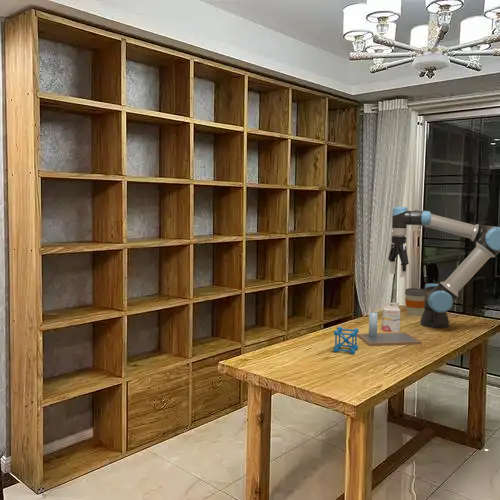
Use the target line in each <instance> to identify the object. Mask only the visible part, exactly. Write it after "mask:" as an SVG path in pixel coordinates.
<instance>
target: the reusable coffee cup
mask: <svg viewBox="0 0 500 500" xmlns="http://www.w3.org/2000/svg"><path fill="white" fill-rule="evenodd" d="M404 294H405V299H404V301H405V307H406V312H407V313H406V314H407V315H409V316H412V317H422V314H423V312H424V301H425V288H417V287H415V288H413V287H412V288H411V287H410V288H409V287H408V288H406V289H405V291H404Z"/></svg>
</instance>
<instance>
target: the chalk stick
mask: <svg viewBox="0 0 500 500" xmlns="http://www.w3.org/2000/svg"><path fill="white" fill-rule="evenodd" d="M368 333H369V337H371V338H376V337H377V333H378V312H375V311H369V312H368Z"/></svg>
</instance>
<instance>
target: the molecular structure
mask: <svg viewBox="0 0 500 500" xmlns="http://www.w3.org/2000/svg"><path fill="white" fill-rule="evenodd" d="M343 331H345V332H343ZM347 332H348V333H347ZM349 332H350V333H349ZM359 332H360V331H359V328H357V327H356V328H353V329H348V328H343V327H342V326H338V327H337V330H336V329H335V330H334V331H333V335H334V339H335V340H334V347H333V349H332V351H333V352H335V353H337V352H339V351H340V352H346V353H347V352H348V353H350V354H352V355H354V354H355V353H356V350H358V349H359V345H358V342H357V341H358V340H357V339H358V338H357V334H359ZM346 336H348V337H346ZM351 338H352V339H351ZM341 339H342V340H343V341H341ZM350 339H351V341H350ZM345 344H347V345H345ZM342 347H344V348H349V349H350V350H349V349H341V348H342Z"/></svg>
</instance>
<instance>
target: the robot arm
mask: <svg viewBox="0 0 500 500" xmlns="http://www.w3.org/2000/svg"><path fill="white" fill-rule="evenodd" d="M391 219H392V220H391V235H392V236H391V244H390V251H389V254H388V261H389V274H390V275H391V274H392V275H393V274H396V259H397V256H399V261H400V276H399V277H400V278H407V265H409V258H408V253H407V252H408V251H407V246H406V245H405V244H406V243H407V231H408V229H407V227H408V226H422V227H425V228H426V227H427V228H428V229H433V230H437V231H441V232H443V233H449V234H452V235H455V236H458V237H459V236H460V237H462V238H467V239H470V241H471V242H474V243H475V247H474V249H473V250H471V252H470V253H469V254H468V255H467V257H466V258H465V259H464V260H462V262H461V263H460V264H459V265H458V266H457V267H456V269H454V271H453V272H452V273H451V274H450V275H449V276H448V277H447V278H446V279H445V280H444V281H440V282H439V283H425V285H424V290H425V301H424V311H423V314H422V316H420V317H421V318H420V325H422V326H426V327H429V328H448V327H449V326H450V319H449V317H448V314H447V312H448V311H449V310H451V308H452V307H453V304H454V302H455V300H456V299H457V298H459V292H460V291H461V290H462V289H463V288H464V287H465V286H466V284H467V283H468V282H469V281H470V280H471V279H472V278H473V277H474V276H475V274H477V272H478V271H479V270H480V269H481V268H483V266H484V265H485V264H486V263H487V261H488V260H490V258H496V256H498V254H499V253H500V226H494V225H485V224H484V225H483V224H479V223H477V224H472V223H468V222H464V221H459V220H457V219H453V218H449V217H444V216H440V215H437V214H434V213H432V212H431V211H429V210H418V209H415V210H408V207H406V206H394V207H393V208H392V215H391Z"/></svg>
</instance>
